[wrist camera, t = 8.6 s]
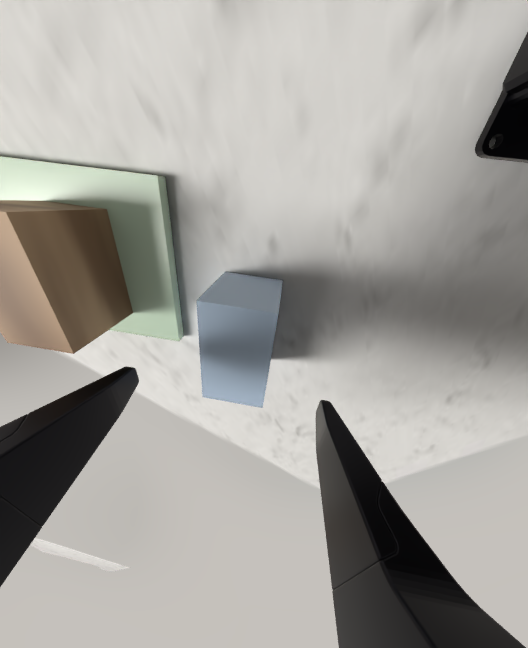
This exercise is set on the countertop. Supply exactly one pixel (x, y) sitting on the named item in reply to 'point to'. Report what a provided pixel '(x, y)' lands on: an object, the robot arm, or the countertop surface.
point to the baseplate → (116, 231)
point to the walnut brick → (58, 275)
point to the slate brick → (237, 337)
